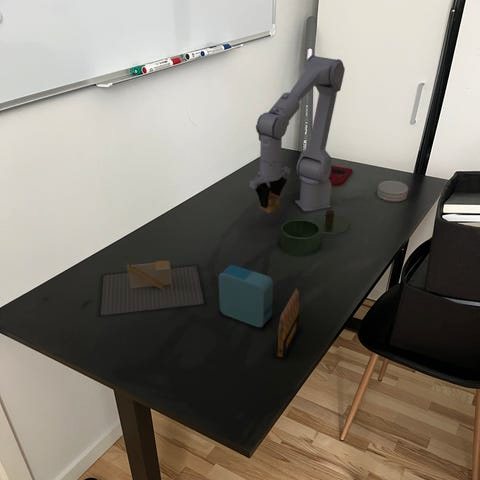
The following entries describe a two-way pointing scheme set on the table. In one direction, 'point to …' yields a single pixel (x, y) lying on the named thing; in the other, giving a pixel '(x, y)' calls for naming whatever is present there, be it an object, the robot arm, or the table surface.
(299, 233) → the bowl
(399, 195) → the coaster
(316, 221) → the lid
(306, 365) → the table surface
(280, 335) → the brown wooden panel
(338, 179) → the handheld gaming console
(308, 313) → the table surface
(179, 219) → the table surface
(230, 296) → the data package
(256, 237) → the table surface
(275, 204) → the block
